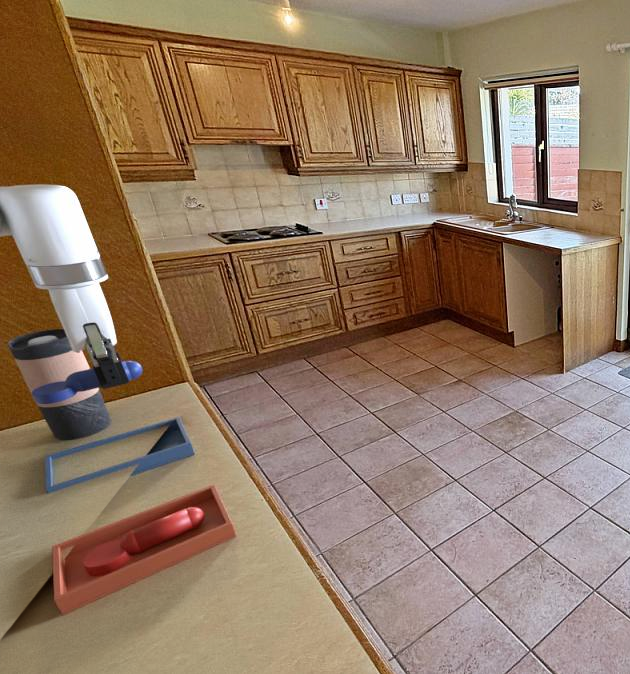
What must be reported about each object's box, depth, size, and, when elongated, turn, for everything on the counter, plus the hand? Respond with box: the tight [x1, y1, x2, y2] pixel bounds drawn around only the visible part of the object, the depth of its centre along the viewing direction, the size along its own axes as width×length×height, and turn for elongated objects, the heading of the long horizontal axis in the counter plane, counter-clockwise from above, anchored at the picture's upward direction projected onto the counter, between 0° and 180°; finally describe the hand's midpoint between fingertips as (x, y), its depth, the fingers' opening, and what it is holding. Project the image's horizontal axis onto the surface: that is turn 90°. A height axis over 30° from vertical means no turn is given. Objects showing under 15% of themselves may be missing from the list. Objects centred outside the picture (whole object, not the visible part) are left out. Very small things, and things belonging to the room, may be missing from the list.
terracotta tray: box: [51, 484, 237, 616], centre depth 65 cm, size 11×17×2 cm, turn 137°
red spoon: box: [83, 507, 204, 576], centre depth 65 cm, size 12×4×3 cm, turn 137°
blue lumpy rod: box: [30, 360, 143, 405], centre depth 75 cm, size 12×4×3 cm, turn 137°
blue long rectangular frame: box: [44, 416, 196, 494], centre depth 81 cm, size 11×17×2 cm, turn 137°
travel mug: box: [7, 328, 112, 441], centre depth 83 cm, size 8×8×20 cm
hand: (114, 380), depth 77 cm, fingers closed on blue lumpy rod, 3 cm apart
